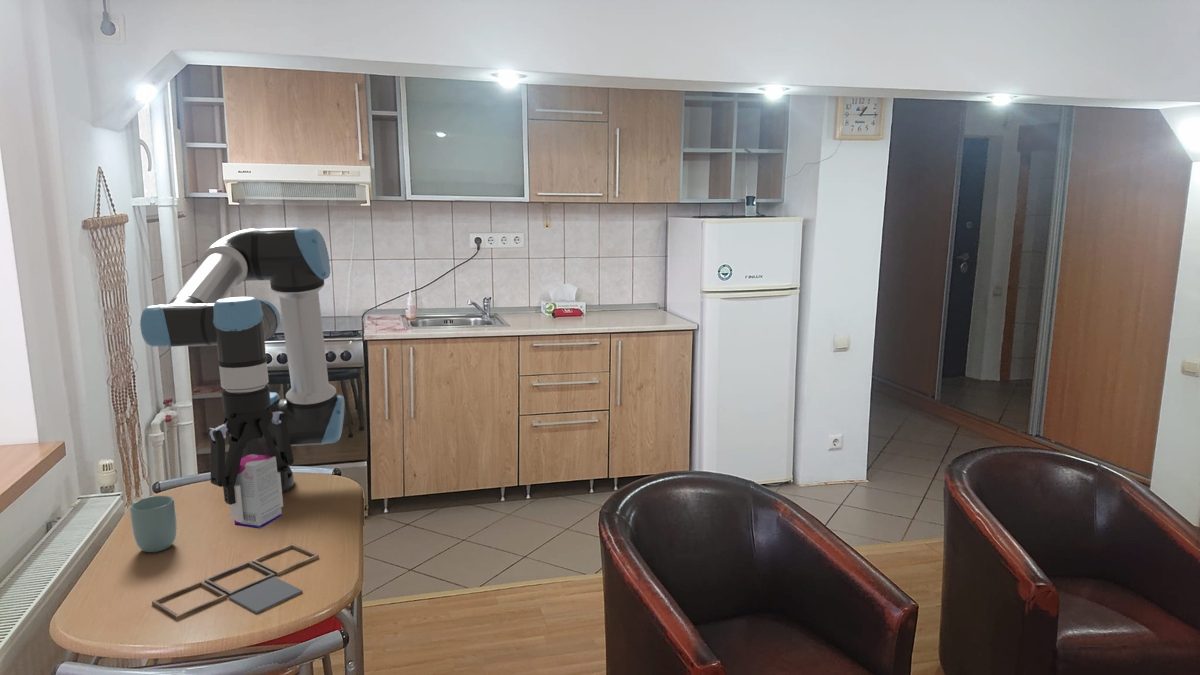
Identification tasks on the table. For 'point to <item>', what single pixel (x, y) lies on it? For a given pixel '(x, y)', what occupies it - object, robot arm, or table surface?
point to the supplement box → (259, 490)
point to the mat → (265, 594)
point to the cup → (154, 523)
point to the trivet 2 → (314, 556)
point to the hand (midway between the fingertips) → (257, 512)
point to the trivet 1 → (178, 616)
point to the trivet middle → (229, 593)
